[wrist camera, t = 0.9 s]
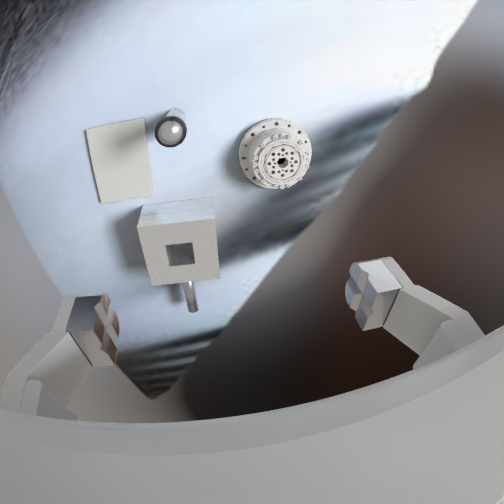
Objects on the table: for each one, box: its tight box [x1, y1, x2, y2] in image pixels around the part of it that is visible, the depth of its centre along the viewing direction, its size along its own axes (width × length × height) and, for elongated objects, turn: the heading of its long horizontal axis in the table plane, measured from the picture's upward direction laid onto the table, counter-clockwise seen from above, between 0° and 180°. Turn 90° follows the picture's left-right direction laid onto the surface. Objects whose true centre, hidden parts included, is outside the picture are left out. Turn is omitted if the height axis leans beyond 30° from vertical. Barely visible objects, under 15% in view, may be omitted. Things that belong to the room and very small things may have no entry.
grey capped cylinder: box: [155, 108, 187, 147], centre depth 30 cm, size 3×3×9 cm
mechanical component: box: [238, 118, 312, 189], centre depth 37 cm, size 10×4×10 cm
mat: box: [86, 118, 155, 203], centre depth 35 cm, size 11×8×1 cm
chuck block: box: [137, 197, 220, 313], centre depth 44 cm, size 19×10×6 cm, turn 0°
